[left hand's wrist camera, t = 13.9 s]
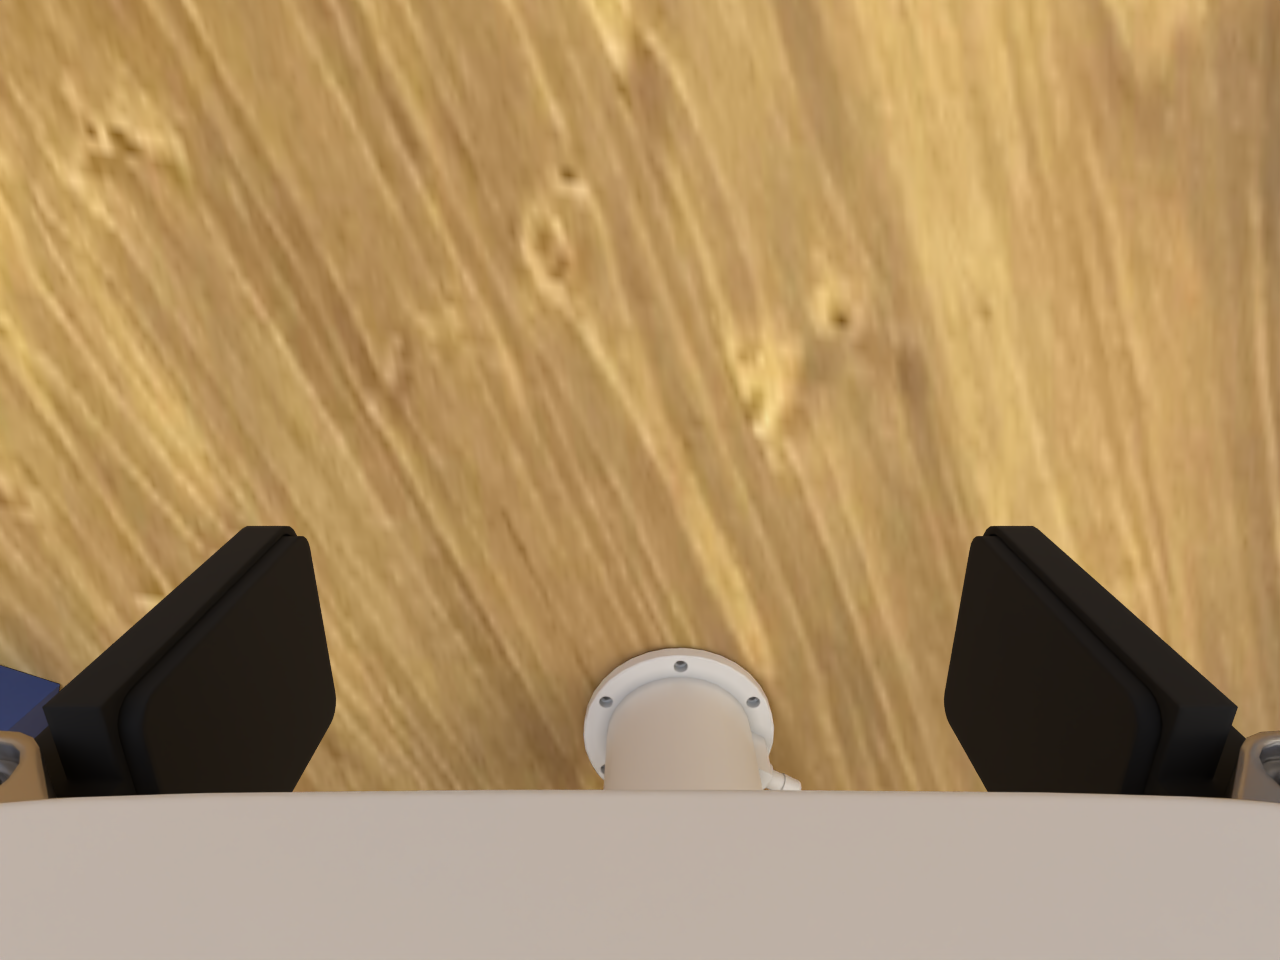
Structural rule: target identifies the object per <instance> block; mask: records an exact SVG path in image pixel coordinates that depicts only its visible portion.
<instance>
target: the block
mask: <svg viewBox="0 0 1280 960" xmlns="http://www.w3.org/2000/svg"><path fill="white" fill-rule="evenodd" d="M59 687H60V684H57V683H54V682H51V681H48V680H45V679H42V678H39V677H35V676H32V675H29V674H26V673H23V672H20V671H17V670H13V669H10V668H7V667H4V666H1V665H0V731H12V732H21V733H23V734H26V735H28V736H30V737H33V738H35V737H36V736H38V735H39V734H40V733H41V732H42V731H43V730H44V729H45V728H46V727H47V726H48V723H47V720H46V717H45V714H44V711H43V708H42V707H43V706H44V705H45V704H46V703H47V702H48V701H49V700H51V699H52V698H53V697H54V696H55V695H56V694H57V693H58V692H59Z"/></svg>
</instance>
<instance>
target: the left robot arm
mask: <svg viewBox="0 0 1280 960" xmlns="http://www.w3.org/2000/svg"><path fill="white" fill-rule="evenodd" d="M335 707H336V695H335V688H334V683H333V677H332V671H331V665H330V660H329V654H328V648H327V643H326V637H325V631H324V625H323V620H322V614H321V608H320V603H319V597H318V591H317V585H316V580H315V574H314V568H313V562H312V557H311V551H310V546H309V543H308V541H307V539H306V538H305V537H304V536H297V535H296V533H295V531H294V530H293V529H292V528H291V527H290V526H246V527H245V528H243V529H242V530H240V531H239V532H238V533H237V534H236V535H235V536H234V537H233V538H231V539H230V540H229V541H228V542H227V543H226V544H225V545H224V546H222V547H221V548H220V549H219V550H218V551H217V552H216V553H215V554H213V555H212V556H211V557H210V558H209V559H208V560H207V561H206V562H204V563H203V564H202V565H201V566H200V567H199V568H198V569H197V570H195V571H194V572H193V573H192V574H191V575H190V576H189V577H188V578H186V579H185V580H184V581H183V582H182V583H181V584H180V585H179V586H178V587H176V588H175V589H174V590H173V591H172V592H171V593H170V594H169V595H167V596H166V597H165V598H164V599H163V600H162V601H161V602H160V603H158V604H157V605H156V606H155V607H154V608H153V609H152V610H151V611H149V612H148V613H147V614H146V615H145V616H144V617H143V618H142V619H140V620H139V621H138V622H137V623H136V624H135V625H134V626H133V627H131V628H130V629H129V630H128V631H127V632H126V633H125V634H124V635H122V636H121V637H120V638H119V639H118V640H117V641H116V642H115V643H113V644H112V645H111V646H110V647H109V648H108V649H107V650H106V651H104V652H103V653H102V654H101V655H100V656H99V657H98V658H97V659H95V660H94V661H93V662H92V663H91V664H90V665H89V666H88V667H87V668H85V669H84V670H83V671H82V672H81V673H80V674H79V675H78V676H76V677H75V678H74V679H73V680H72V681H71V682H70V683H69V684H67V685H66V686H65V687H64V688H63V689H62V690H61V691H60V692H58V693H57V694H56V695H55V696H54V697H53V698H52V699H51V700H49V701H48V702H47V703H46V704H45V705H44V706H43V707H42V708H43V711H44V714H45V717H46V720H47V723H48V726H47V727H46V728H45V729H44V730H43V731H42V732H41V733H40V734H39V735H38V736H36V737H35V738H33V737H30V736H28V735H26V734H23V733H21V732H12V731H0V960H1280V731H1268V732H1259V733H1257V734H1254V735H1252V736H1250V737H1247V738H1245V737H1244V736H1242V735H1241V734H1240V733H1239V732H1238V731H1237V730H1236V729H1235V728H1234V727H1233V726H1232V723H1233V720H1234V717H1235V714H1236V711H1237V708H1238V707H1237V706H1236V705H1235V704H1234V703H1233V702H1232V701H1231V700H1229V699H1228V698H1227V697H1226V696H1225V695H1224V694H1223V693H1222V692H1220V691H1219V690H1218V689H1217V688H1216V687H1215V686H1214V685H1213V684H1211V683H1210V682H1209V681H1208V680H1207V679H1206V678H1205V677H1204V676H1202V675H1201V674H1200V673H1199V672H1198V671H1197V670H1196V669H1195V668H1193V667H1192V666H1191V665H1190V664H1189V663H1188V662H1187V661H1186V660H1185V659H1183V658H1182V657H1181V656H1180V655H1179V654H1178V653H1177V652H1176V651H1174V650H1173V649H1172V648H1171V647H1170V646H1169V645H1168V644H1167V643H1165V642H1164V641H1163V640H1162V639H1161V638H1160V637H1159V636H1158V635H1156V634H1155V633H1154V632H1153V631H1152V630H1151V629H1150V628H1149V627H1147V626H1146V625H1145V624H1144V623H1143V622H1142V621H1141V620H1140V619H1138V618H1137V617H1136V616H1135V615H1134V614H1133V613H1132V612H1131V611H1129V610H1128V609H1127V608H1126V607H1125V606H1124V605H1123V604H1122V603H1120V602H1119V601H1118V600H1117V599H1116V598H1115V597H1114V596H1113V595H1111V594H1110V593H1109V592H1108V591H1107V590H1106V589H1105V588H1104V587H1102V586H1101V585H1100V584H1099V583H1098V582H1097V581H1096V580H1095V579H1093V578H1092V577H1091V576H1090V575H1089V574H1088V573H1087V572H1086V571H1085V570H1083V569H1082V568H1081V567H1080V566H1079V565H1078V564H1077V563H1076V562H1074V561H1073V560H1072V559H1071V558H1070V557H1069V556H1068V555H1067V554H1065V553H1064V552H1063V551H1062V550H1061V549H1060V548H1059V547H1058V546H1056V545H1055V544H1054V543H1053V542H1052V541H1051V540H1050V539H1049V538H1047V537H1046V536H1045V535H1044V534H1043V533H1042V532H1041V531H1040V530H1038V529H1037V528H1035V527H1034V526H990V527H989V528H988V529H987V530H986V531H985V533H984V535H983V536H976V537H975V538H974V539H973V541H972V543H971V546H970V551H969V557H968V562H967V568H966V574H965V580H964V585H963V591H962V597H961V602H960V608H959V614H958V620H957V625H956V631H955V637H954V643H953V648H952V654H951V660H950V665H949V671H948V677H947V683H946V688H945V695H944V707H945V713H946V716H947V719H948V722H949V724H950V726H951V727H952V729H953V731H954V733H955V735H956V736H957V738H958V740H959V742H960V743H961V745H962V747H963V749H964V750H965V752H966V754H967V756H968V758H969V759H970V761H971V763H972V765H973V766H974V768H975V770H976V772H977V774H978V775H979V777H980V779H981V781H982V782H983V784H984V786H985V788H986V789H987V791H988V792H930V791H817V790H801V783H800V781H799V780H797V779H795V778H792V777H790V776H788V775H786V774H784V773H780V772H778V771H775V770H773V766H772V764H770V761H769V757H768V756H769V753H770V750H771V747H772V744H773V735H774V725H773V718H772V713H771V709H770V706H769V702H768V699H767V697H766V695H765V694H764V692H763V690H762V688H761V686H760V685H759V684H758V682H757V681H756V680H755V679H754V678H753V677H752V676H751V674H750V673H748V672H747V671H746V670H744V669H743V668H742V667H741V666H739V665H738V664H737V663H735V662H733V661H731V660H729V659H727V658H725V657H723V656H721V655H718V654H714V653H711V652H708V651H704V650H697V649H689V648H670V649H662V650H657V651H652V652H648V653H645V654H642V655H640V656H637V657H635V658H632V659H630V660H628V661H627V662H625V663H623V664H622V665H620V666H618V667H617V668H615V669H614V670H613V671H612V672H611V673H610V674H609V675H607V676H606V677H605V678H604V679H603V680H602V682H601V683H600V684H599V686H598V687H597V688H596V690H595V691H594V693H593V695H592V697H591V699H590V701H589V703H588V706H587V710H586V715H585V720H584V742H585V749H586V752H587V754H588V757H589V760H590V762H591V764H592V766H593V767H594V769H595V770H596V772H597V773H598V775H599V776H600V777H601V778H602V779H603V780H604V790H439V791H350V792H292V791H293V789H294V788H295V786H296V784H297V782H298V781H299V779H300V777H301V775H302V774H303V772H304V770H305V768H306V766H307V765H308V763H309V761H310V759H311V758H312V756H313V754H314V752H315V750H316V749H317V747H318V745H319V743H320V742H321V740H322V738H323V736H324V734H325V733H326V731H327V729H328V727H329V726H330V724H331V722H332V719H333V716H334V713H335ZM765 788H767V789H769V790H764V789H765Z"/></svg>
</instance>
